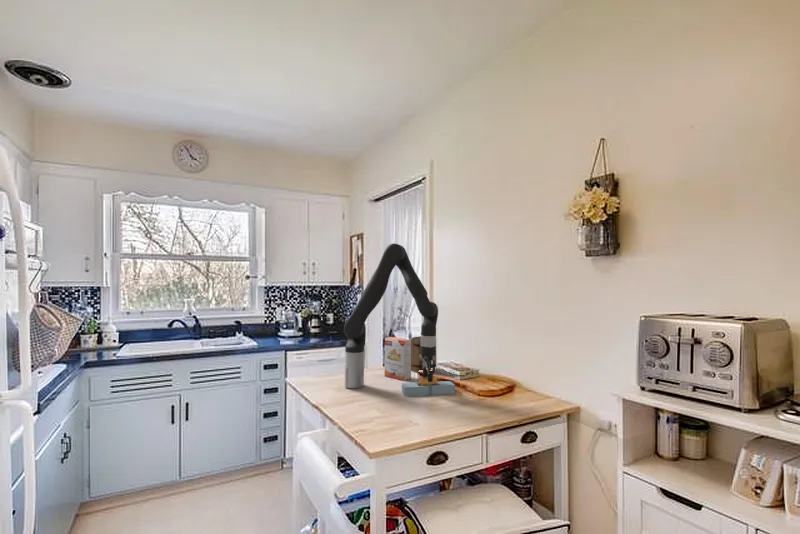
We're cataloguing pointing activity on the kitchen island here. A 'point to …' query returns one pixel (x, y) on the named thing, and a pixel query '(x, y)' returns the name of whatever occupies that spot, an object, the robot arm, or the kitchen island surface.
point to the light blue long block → (428, 389)
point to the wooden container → (417, 355)
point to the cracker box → (398, 358)
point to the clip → (424, 381)
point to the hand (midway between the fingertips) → (427, 379)
